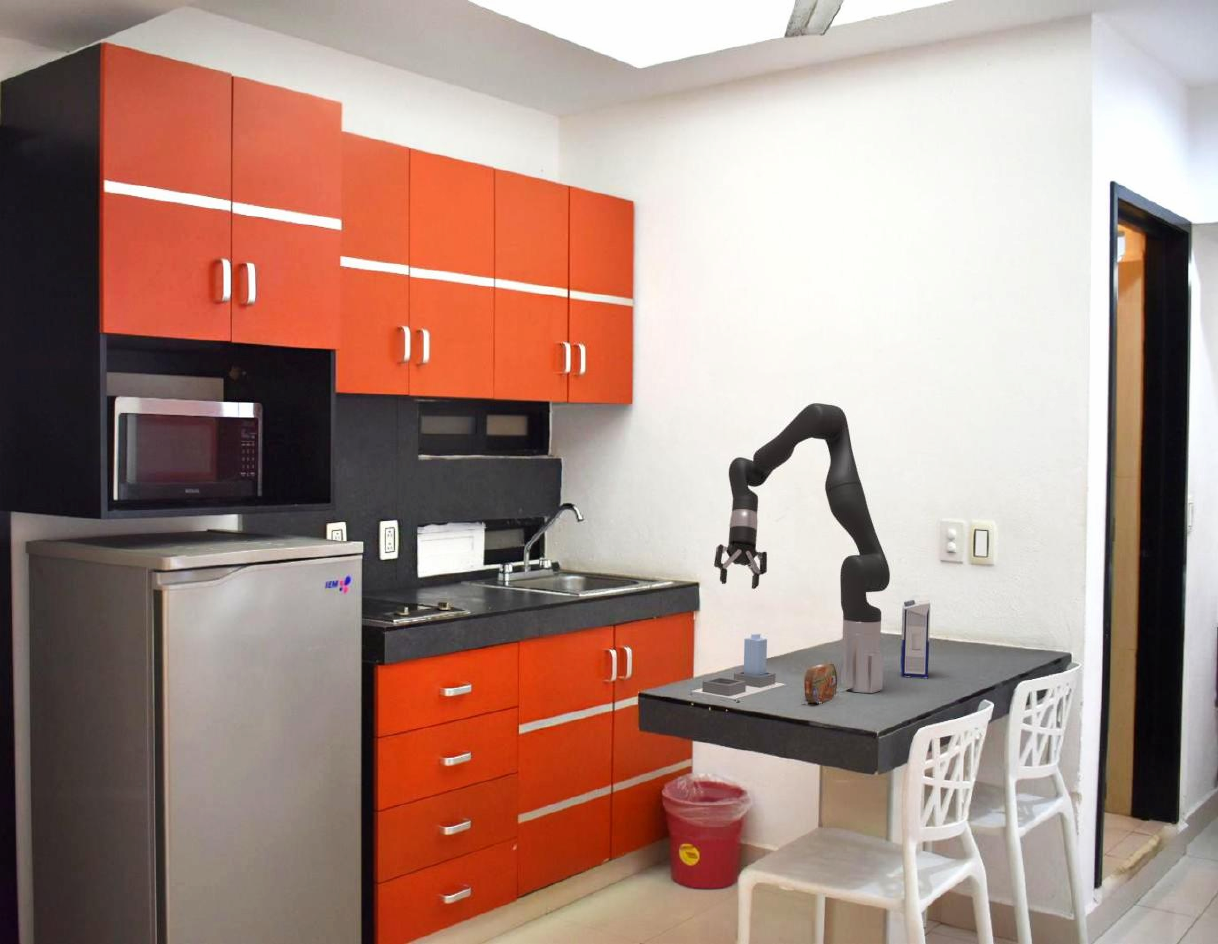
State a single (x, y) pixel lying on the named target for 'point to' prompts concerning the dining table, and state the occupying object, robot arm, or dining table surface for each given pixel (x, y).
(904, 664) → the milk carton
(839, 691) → the dining table surface
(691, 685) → the dining table surface
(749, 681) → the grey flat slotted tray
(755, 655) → the plug
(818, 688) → the tin
